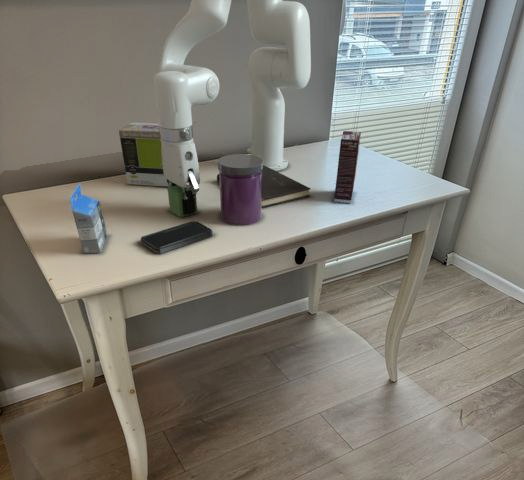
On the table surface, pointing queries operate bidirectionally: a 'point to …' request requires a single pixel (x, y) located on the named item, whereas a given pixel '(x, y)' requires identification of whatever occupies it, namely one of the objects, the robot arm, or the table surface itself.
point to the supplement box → (347, 166)
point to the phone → (176, 237)
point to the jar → (240, 188)
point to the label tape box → (88, 221)
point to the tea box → (142, 154)
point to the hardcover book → (279, 188)
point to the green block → (177, 200)
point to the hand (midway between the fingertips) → (183, 209)
